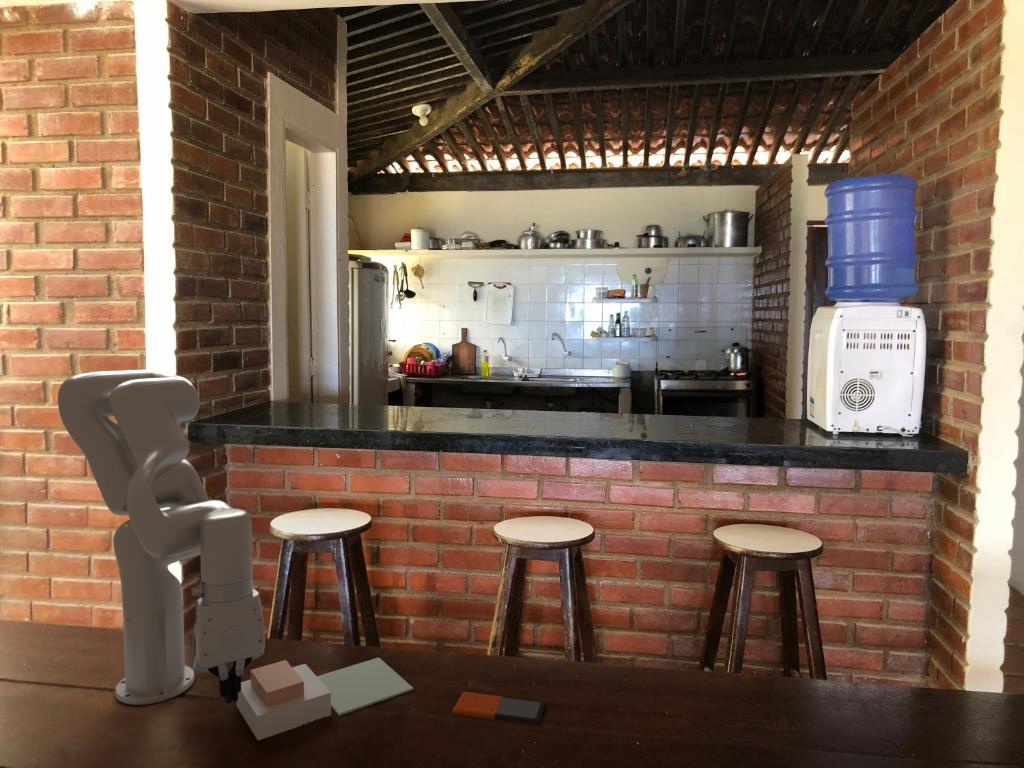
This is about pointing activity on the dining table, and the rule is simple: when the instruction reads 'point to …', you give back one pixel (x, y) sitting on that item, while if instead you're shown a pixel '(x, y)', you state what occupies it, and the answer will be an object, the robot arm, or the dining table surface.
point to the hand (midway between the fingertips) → (230, 698)
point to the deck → (285, 706)
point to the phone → (500, 708)
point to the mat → (363, 685)
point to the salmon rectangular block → (277, 683)
